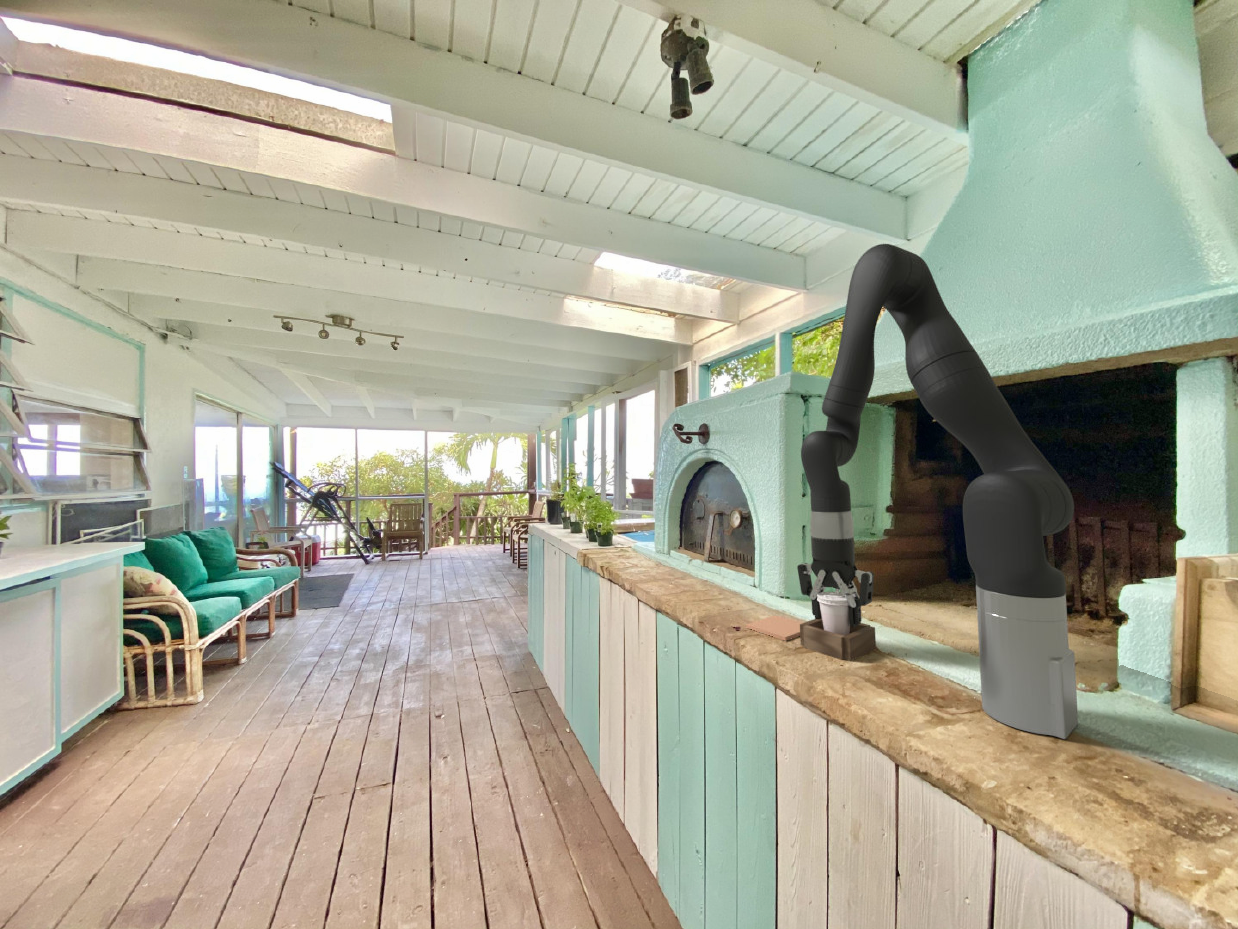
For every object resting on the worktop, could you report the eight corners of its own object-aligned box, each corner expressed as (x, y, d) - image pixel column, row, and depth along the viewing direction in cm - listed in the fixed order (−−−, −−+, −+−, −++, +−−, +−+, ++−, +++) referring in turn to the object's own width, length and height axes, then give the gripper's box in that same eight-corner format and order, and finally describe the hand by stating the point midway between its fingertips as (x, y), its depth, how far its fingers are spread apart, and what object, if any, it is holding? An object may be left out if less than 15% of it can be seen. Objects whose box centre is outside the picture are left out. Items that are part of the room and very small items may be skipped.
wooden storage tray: (877, 648, 87) (876, 626, 87) (848, 662, 82) (847, 639, 82) (828, 633, 96) (827, 614, 96) (798, 645, 90) (797, 625, 90)
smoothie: (863, 651, 85) (859, 575, 86) (830, 654, 85) (826, 577, 85) (844, 639, 92) (840, 568, 92) (813, 641, 91) (809, 570, 92)
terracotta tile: (815, 630, 98) (814, 626, 98) (785, 641, 92) (785, 637, 92) (775, 618, 106) (775, 615, 106) (746, 628, 101) (746, 624, 101)
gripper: (880, 535, 86) (884, 626, 85) (806, 529, 97) (810, 610, 96) (862, 540, 81) (867, 636, 80) (787, 533, 92) (791, 618, 92)
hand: (836, 621), depth 88 cm, fingers closed on smoothie, 6 cm apart
